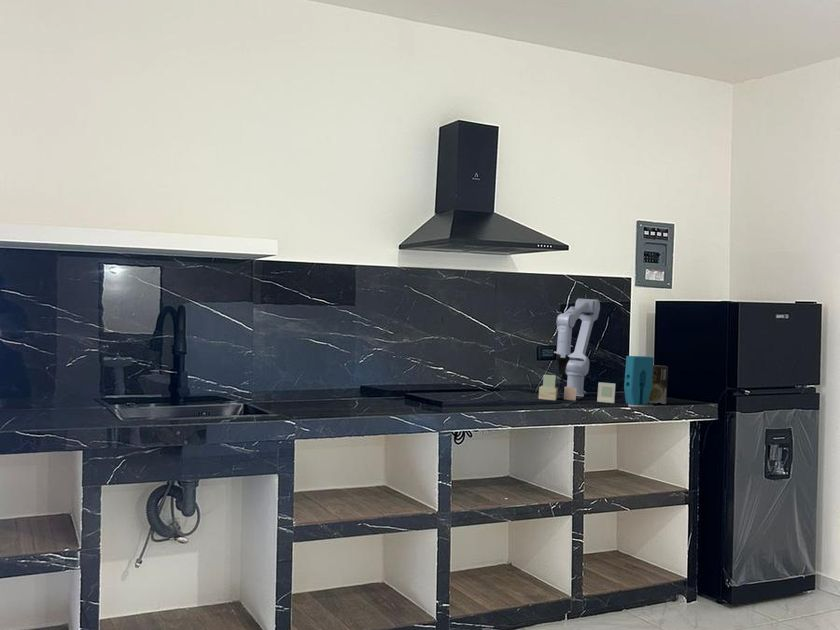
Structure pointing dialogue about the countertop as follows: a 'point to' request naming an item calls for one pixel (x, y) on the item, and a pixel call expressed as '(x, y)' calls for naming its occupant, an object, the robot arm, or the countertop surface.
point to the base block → (548, 393)
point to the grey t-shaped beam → (606, 392)
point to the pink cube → (570, 393)
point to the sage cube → (549, 381)
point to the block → (638, 379)
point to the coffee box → (659, 385)
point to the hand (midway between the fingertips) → (561, 373)
